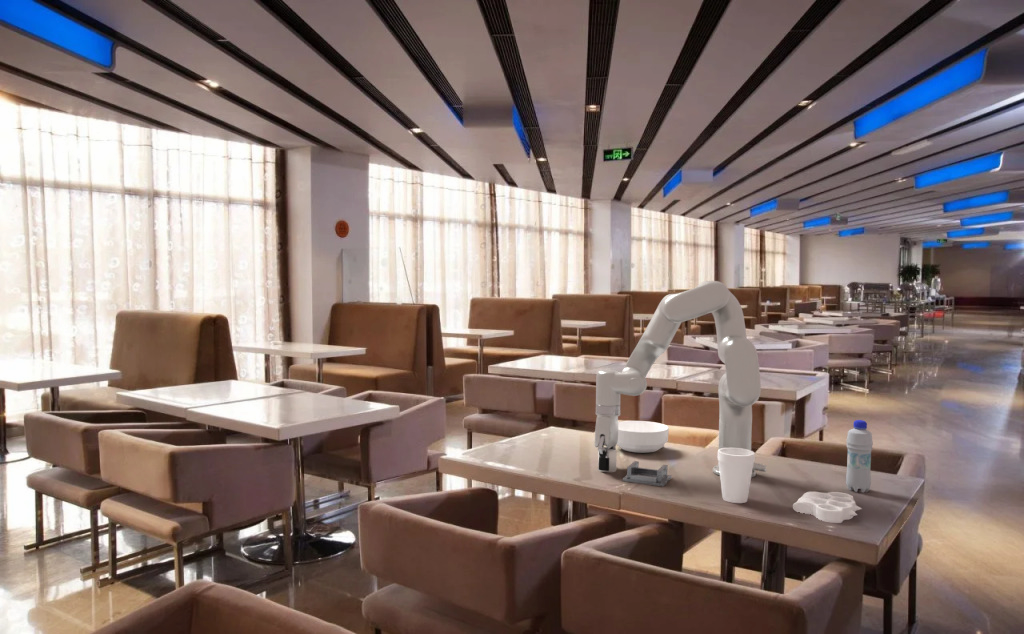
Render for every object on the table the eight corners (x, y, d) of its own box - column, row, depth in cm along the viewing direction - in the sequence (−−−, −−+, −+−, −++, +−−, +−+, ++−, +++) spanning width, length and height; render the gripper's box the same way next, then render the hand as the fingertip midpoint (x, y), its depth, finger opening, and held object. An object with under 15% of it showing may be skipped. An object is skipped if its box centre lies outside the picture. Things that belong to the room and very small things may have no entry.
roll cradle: (671, 477, 209) (671, 464, 208) (663, 486, 200) (663, 472, 199) (632, 472, 214) (632, 459, 214) (622, 481, 205) (622, 467, 205)
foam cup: (731, 492, 195) (732, 446, 194) (760, 500, 187) (761, 452, 187) (709, 498, 189) (710, 450, 189) (738, 507, 182) (740, 457, 181)
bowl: (638, 441, 257) (638, 418, 257) (680, 452, 241) (680, 427, 241) (599, 448, 246) (599, 424, 245) (640, 460, 230) (641, 434, 229)
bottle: (848, 485, 203) (850, 416, 202) (873, 489, 198) (876, 419, 197) (842, 490, 197) (844, 420, 196) (868, 495, 193) (870, 423, 192)
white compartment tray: (806, 498, 191) (866, 509, 182) (789, 516, 176) (853, 528, 168) (806, 486, 191) (866, 496, 182) (789, 503, 176) (853, 514, 168)
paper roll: (618, 468, 219) (618, 449, 218) (613, 473, 214) (613, 453, 213) (601, 466, 221) (601, 447, 221) (595, 470, 216) (595, 451, 216)
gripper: (605, 404, 226) (604, 460, 227) (587, 413, 210) (586, 473, 211) (627, 406, 223) (626, 463, 223) (611, 415, 207) (610, 476, 208)
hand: (607, 467), depth 217 cm, fingers closed on paper roll, 5 cm apart
